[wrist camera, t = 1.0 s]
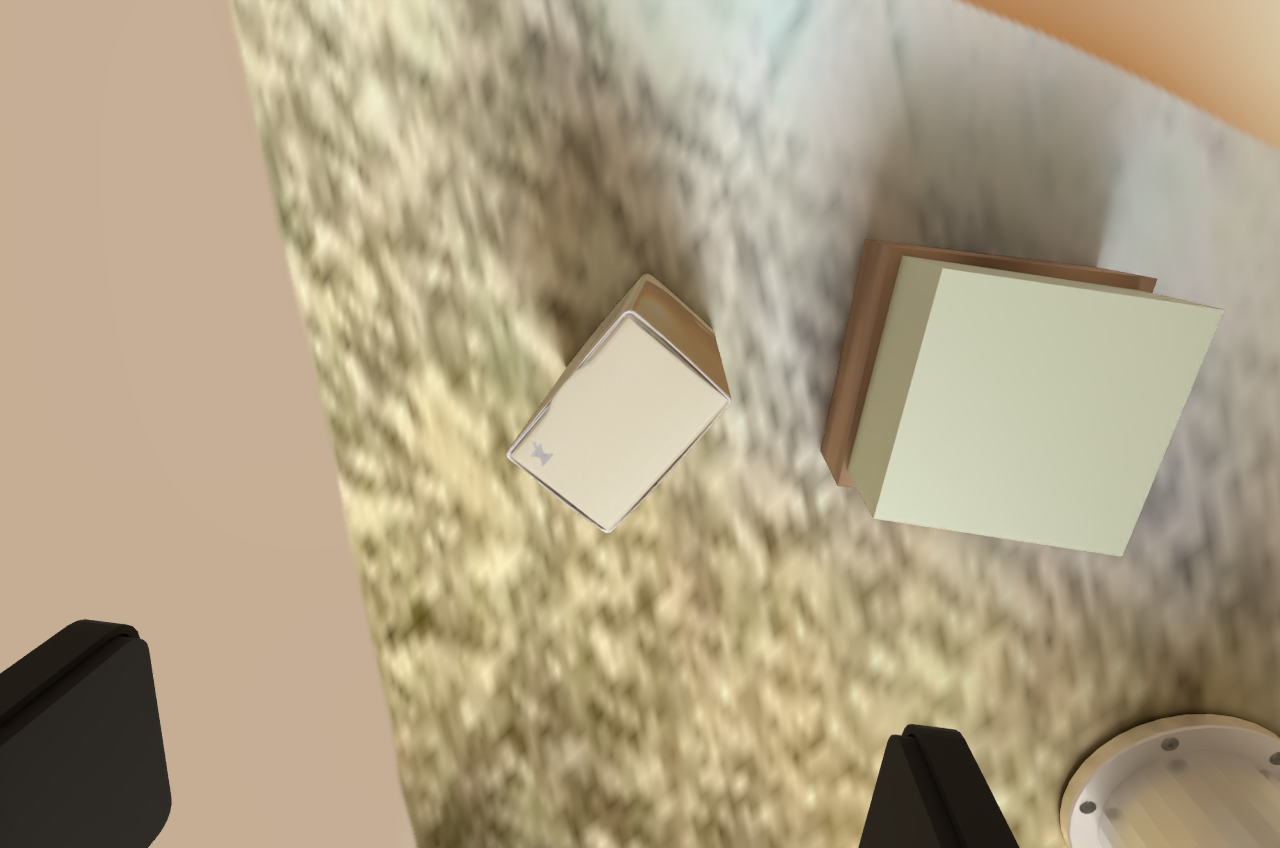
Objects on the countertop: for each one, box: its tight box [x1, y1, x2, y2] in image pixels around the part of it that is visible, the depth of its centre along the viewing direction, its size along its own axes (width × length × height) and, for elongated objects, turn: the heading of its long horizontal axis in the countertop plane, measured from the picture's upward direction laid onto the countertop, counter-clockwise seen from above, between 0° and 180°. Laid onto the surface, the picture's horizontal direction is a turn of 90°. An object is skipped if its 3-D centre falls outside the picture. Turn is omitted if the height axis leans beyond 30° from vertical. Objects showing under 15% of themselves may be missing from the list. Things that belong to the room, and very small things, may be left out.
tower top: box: [847, 255, 1224, 557], centre depth 26 cm, size 9×9×4 cm
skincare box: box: [506, 273, 731, 533], centre depth 27 cm, size 6×4×12 cm
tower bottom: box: [821, 239, 1157, 488], centre depth 30 cm, size 10×10×4 cm
